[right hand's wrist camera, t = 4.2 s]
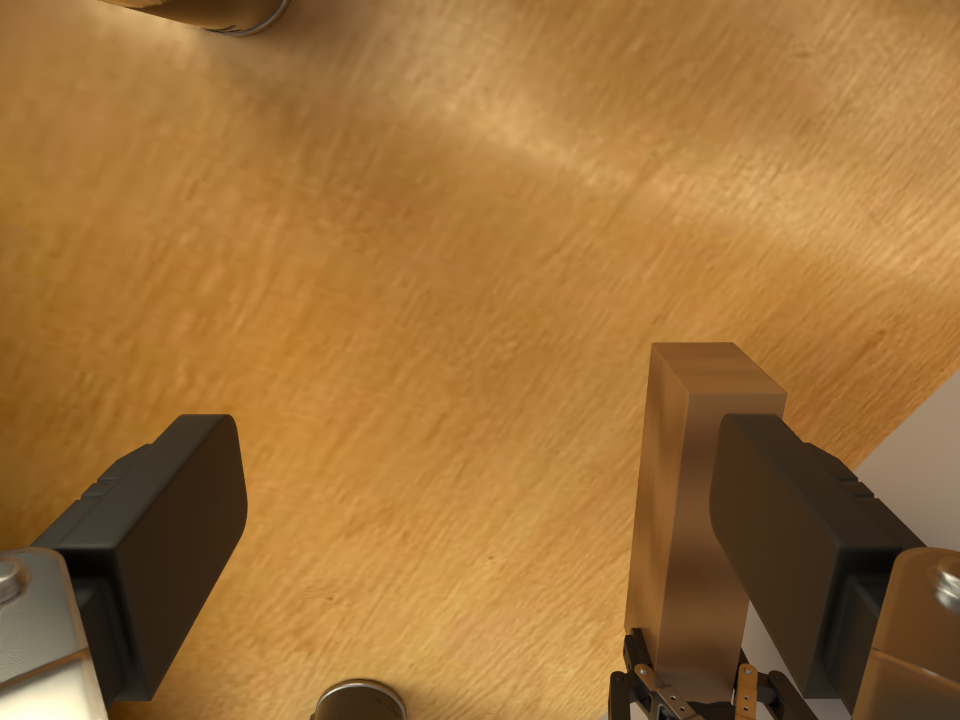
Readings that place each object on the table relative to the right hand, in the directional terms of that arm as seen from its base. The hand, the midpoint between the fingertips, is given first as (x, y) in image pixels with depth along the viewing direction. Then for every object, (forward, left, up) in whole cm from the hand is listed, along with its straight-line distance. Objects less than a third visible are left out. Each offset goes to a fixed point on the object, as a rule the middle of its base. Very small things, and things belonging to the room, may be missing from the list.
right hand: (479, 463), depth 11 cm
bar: (+18, +20, -34) cm, 43 cm away
